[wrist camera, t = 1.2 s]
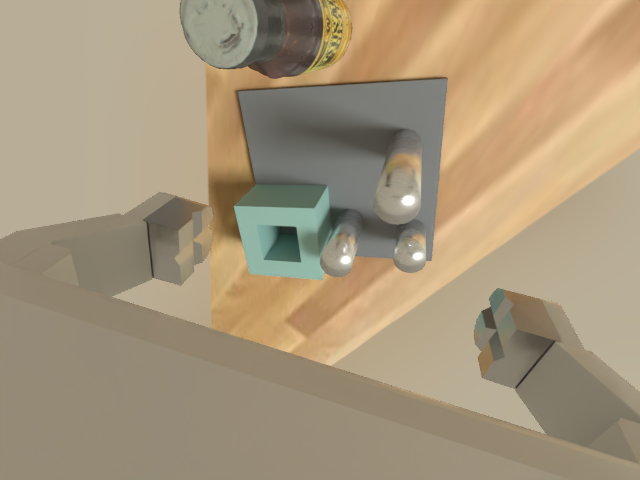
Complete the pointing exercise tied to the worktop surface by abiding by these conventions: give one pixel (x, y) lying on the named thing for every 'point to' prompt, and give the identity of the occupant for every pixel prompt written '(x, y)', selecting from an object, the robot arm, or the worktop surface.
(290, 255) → the block
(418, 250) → the short pin
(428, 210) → the mat
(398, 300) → the worktop surface
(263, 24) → the sauce bottle
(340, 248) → the medium pin
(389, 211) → the long pin
